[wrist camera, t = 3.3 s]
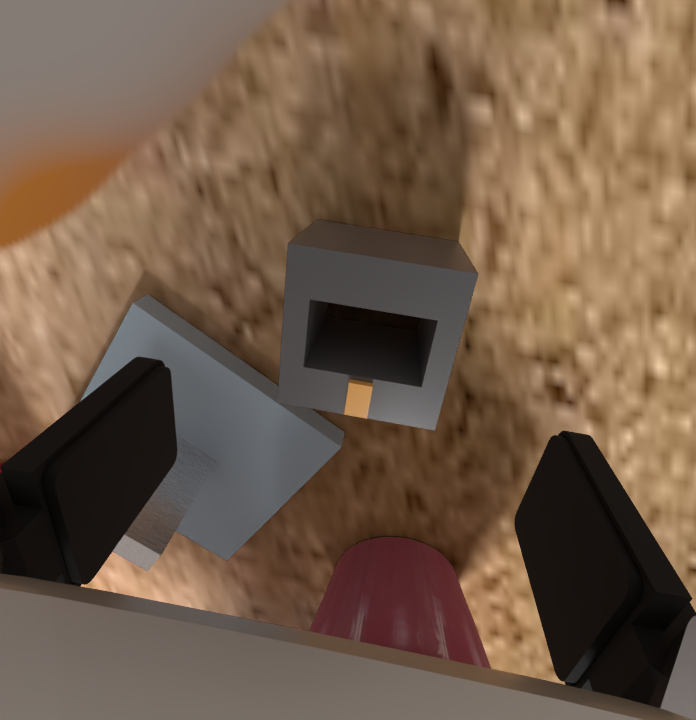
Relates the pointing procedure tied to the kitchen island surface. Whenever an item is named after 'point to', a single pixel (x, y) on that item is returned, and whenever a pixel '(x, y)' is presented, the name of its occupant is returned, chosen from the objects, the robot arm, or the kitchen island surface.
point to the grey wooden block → (166, 506)
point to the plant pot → (400, 602)
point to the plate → (225, 426)
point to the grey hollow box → (367, 341)
